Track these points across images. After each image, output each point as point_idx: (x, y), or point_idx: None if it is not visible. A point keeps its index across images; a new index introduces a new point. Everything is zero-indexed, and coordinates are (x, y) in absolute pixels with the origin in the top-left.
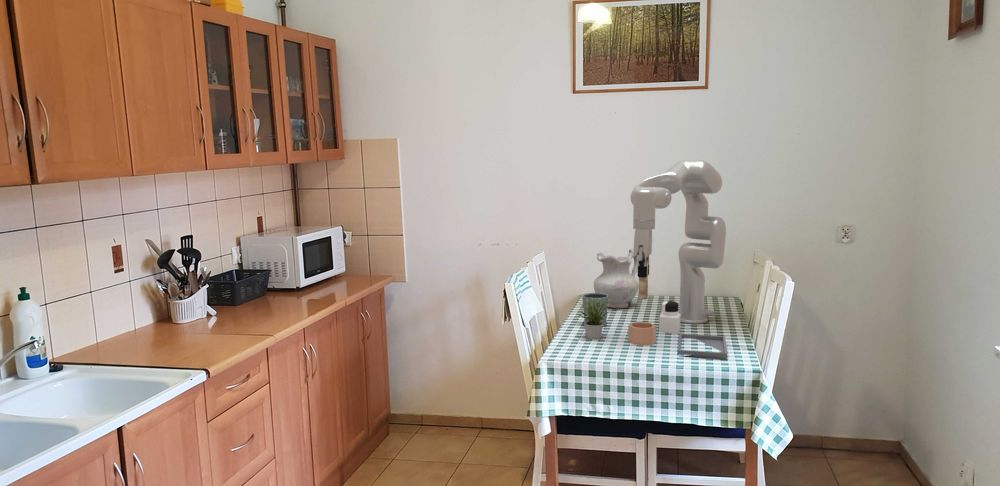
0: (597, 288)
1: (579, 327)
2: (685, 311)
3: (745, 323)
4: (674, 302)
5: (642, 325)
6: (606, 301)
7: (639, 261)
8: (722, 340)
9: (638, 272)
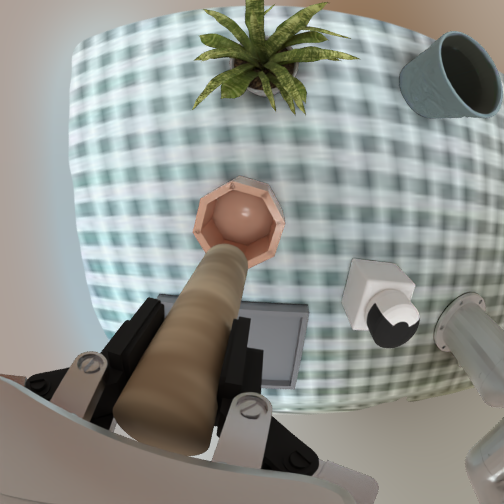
0: None
1: (388, 45)
2: (460, 325)
3: (419, 397)
4: (392, 341)
5: (275, 225)
6: (292, 81)
7: (20, 380)
8: (290, 380)
9: (135, 320)
